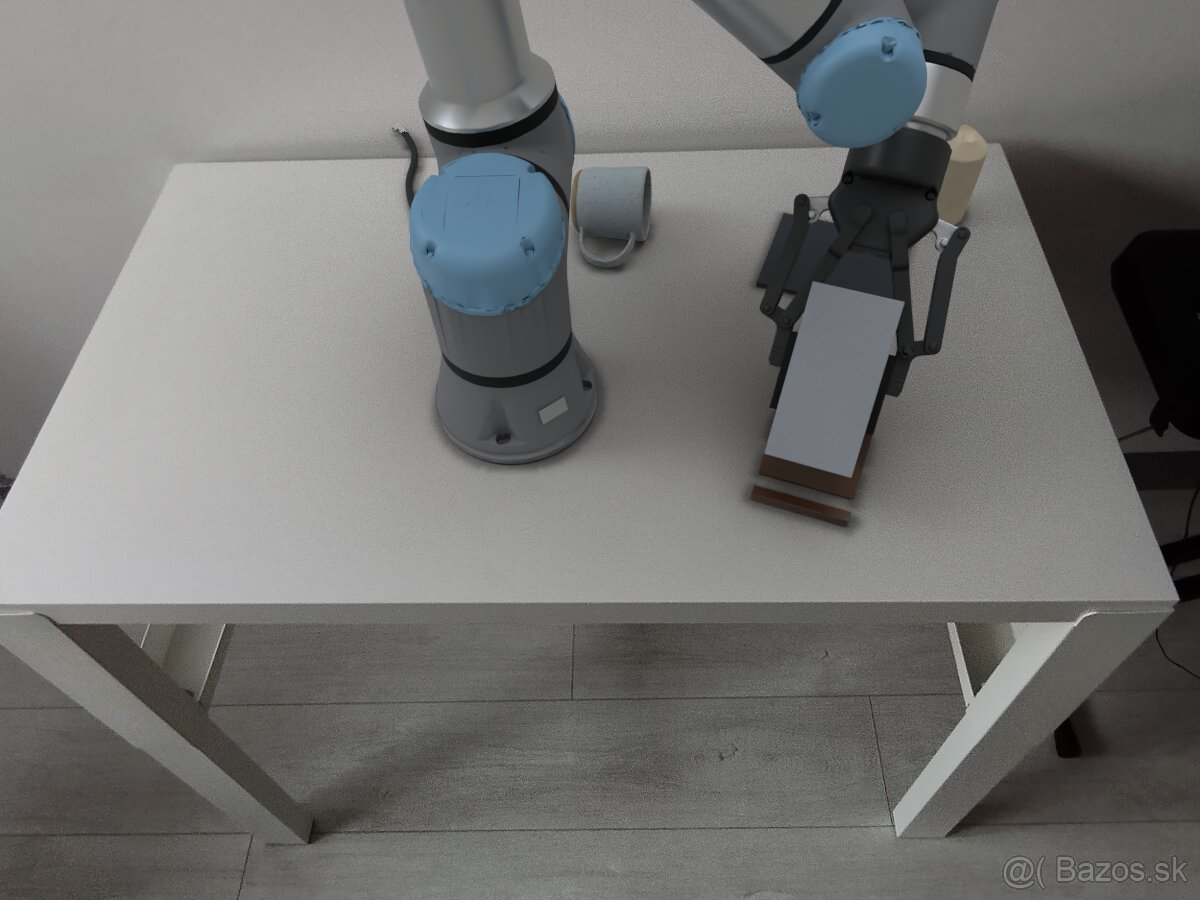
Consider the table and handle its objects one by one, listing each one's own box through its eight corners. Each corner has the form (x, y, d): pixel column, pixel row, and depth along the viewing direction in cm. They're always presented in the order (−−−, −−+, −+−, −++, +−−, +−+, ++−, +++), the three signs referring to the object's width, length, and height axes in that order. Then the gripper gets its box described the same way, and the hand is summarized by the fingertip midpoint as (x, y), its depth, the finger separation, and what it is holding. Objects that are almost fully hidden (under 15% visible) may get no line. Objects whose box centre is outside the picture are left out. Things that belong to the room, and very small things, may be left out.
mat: (756, 285, 89) (756, 282, 89) (783, 216, 96) (783, 212, 95) (890, 315, 86) (891, 312, 85) (909, 241, 92) (910, 237, 92)
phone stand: (775, 424, 80) (784, 378, 74) (864, 448, 78) (881, 402, 72) (748, 506, 74) (757, 462, 69) (844, 533, 72) (860, 491, 67)
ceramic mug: (582, 205, 98) (578, 148, 92) (652, 210, 97) (653, 152, 91) (567, 269, 92) (561, 212, 86) (641, 274, 91) (641, 217, 85)
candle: (968, 227, 93) (999, 148, 85) (917, 228, 93) (943, 149, 85) (957, 196, 96) (986, 116, 88) (908, 196, 97) (932, 117, 89)
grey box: (797, 365, 79) (825, 243, 68) (872, 384, 78) (914, 263, 66) (757, 485, 71) (781, 371, 60) (839, 509, 70) (881, 397, 58)
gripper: (1029, 169, 66) (939, 447, 71) (781, 123, 71) (711, 386, 76) (1051, 149, 59) (950, 459, 64) (773, 99, 64) (697, 391, 68)
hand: (820, 419), depth 70 cm, fingers closed on grey box, 7 cm apart
